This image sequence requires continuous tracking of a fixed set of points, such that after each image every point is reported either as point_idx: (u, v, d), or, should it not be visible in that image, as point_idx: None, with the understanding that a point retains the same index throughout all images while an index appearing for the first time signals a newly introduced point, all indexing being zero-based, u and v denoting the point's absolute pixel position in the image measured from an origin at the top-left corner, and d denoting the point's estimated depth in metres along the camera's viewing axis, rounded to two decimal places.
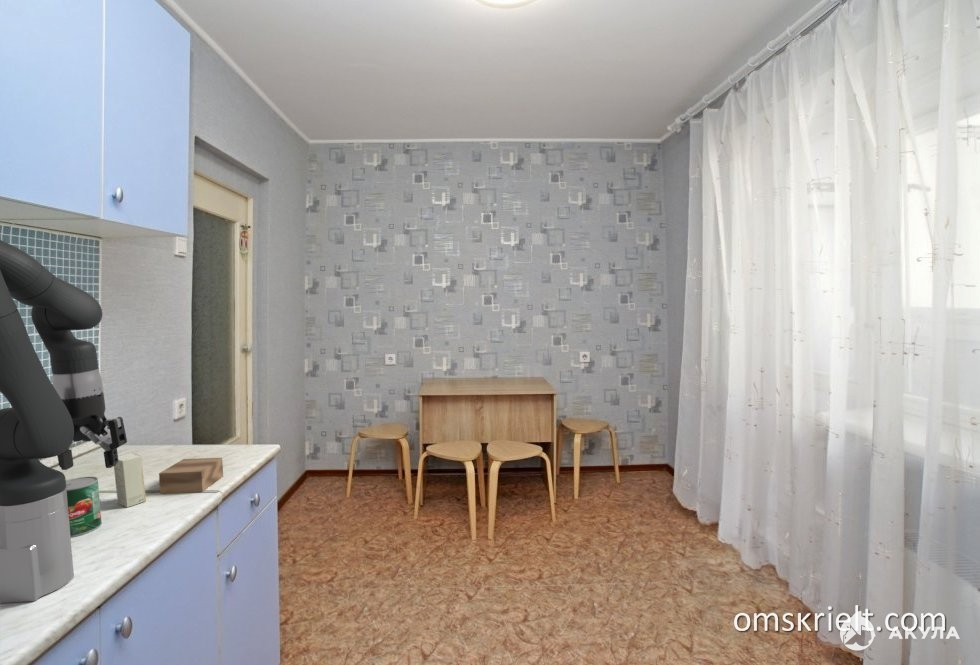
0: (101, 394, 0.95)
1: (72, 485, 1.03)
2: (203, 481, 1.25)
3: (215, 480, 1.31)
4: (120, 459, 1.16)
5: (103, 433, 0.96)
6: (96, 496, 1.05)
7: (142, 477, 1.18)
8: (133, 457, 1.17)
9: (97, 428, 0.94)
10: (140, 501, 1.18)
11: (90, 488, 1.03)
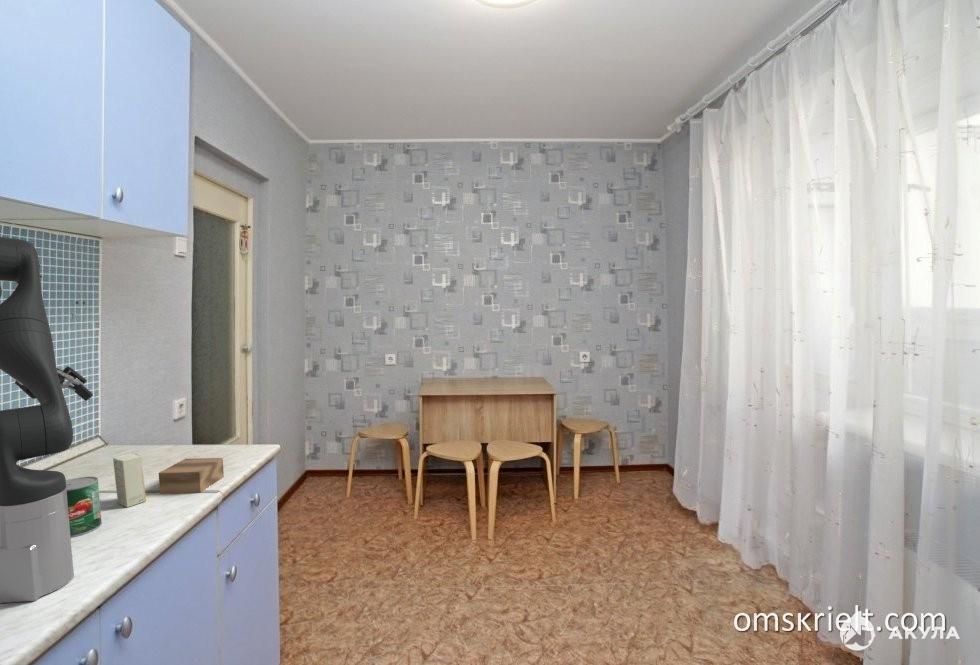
0: None
1: (72, 485, 1.03)
2: (201, 481, 1.25)
3: (215, 480, 1.31)
4: (120, 459, 1.16)
5: (60, 384, 1.18)
6: (96, 496, 1.05)
7: (142, 477, 1.18)
8: (133, 457, 1.17)
9: (62, 373, 1.18)
10: (140, 501, 1.18)
11: (90, 488, 1.03)
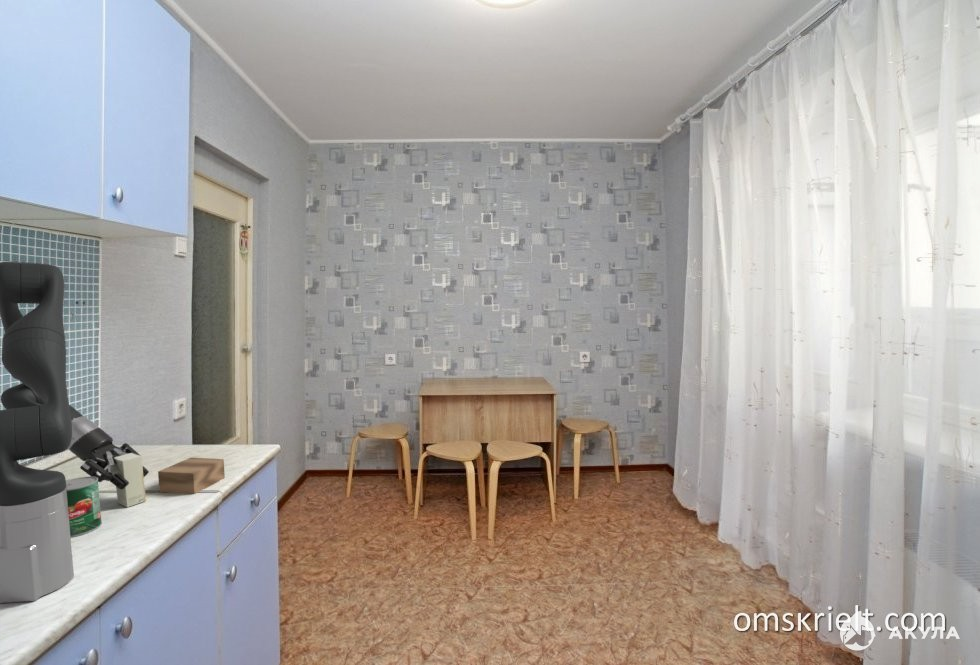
0: None
1: (72, 485, 1.03)
2: (196, 483, 1.24)
3: (213, 482, 1.30)
4: (120, 459, 1.16)
5: None
6: (96, 496, 1.05)
7: (142, 477, 1.18)
8: (133, 457, 1.17)
9: (119, 450, 1.21)
10: (140, 501, 1.18)
11: (90, 488, 1.03)
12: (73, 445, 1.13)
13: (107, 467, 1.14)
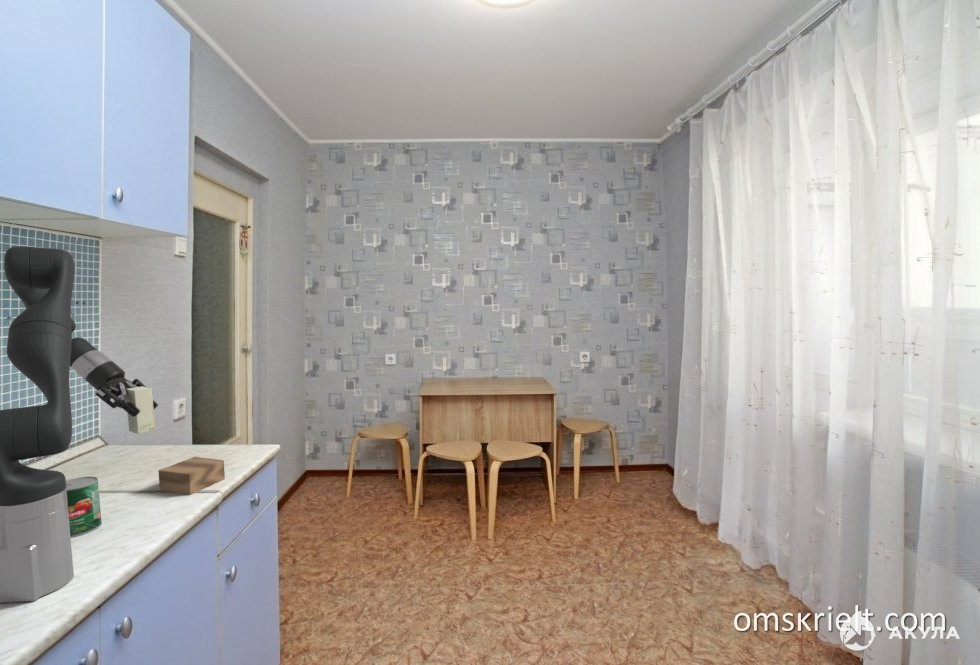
0: None
1: (72, 485, 1.03)
2: (192, 484, 1.23)
3: (211, 483, 1.29)
4: (132, 389, 1.24)
5: None
6: (96, 496, 1.05)
7: (152, 407, 1.26)
8: (144, 388, 1.26)
9: None
10: (150, 430, 1.26)
11: (90, 488, 1.03)
12: (89, 374, 1.21)
13: (120, 396, 1.22)
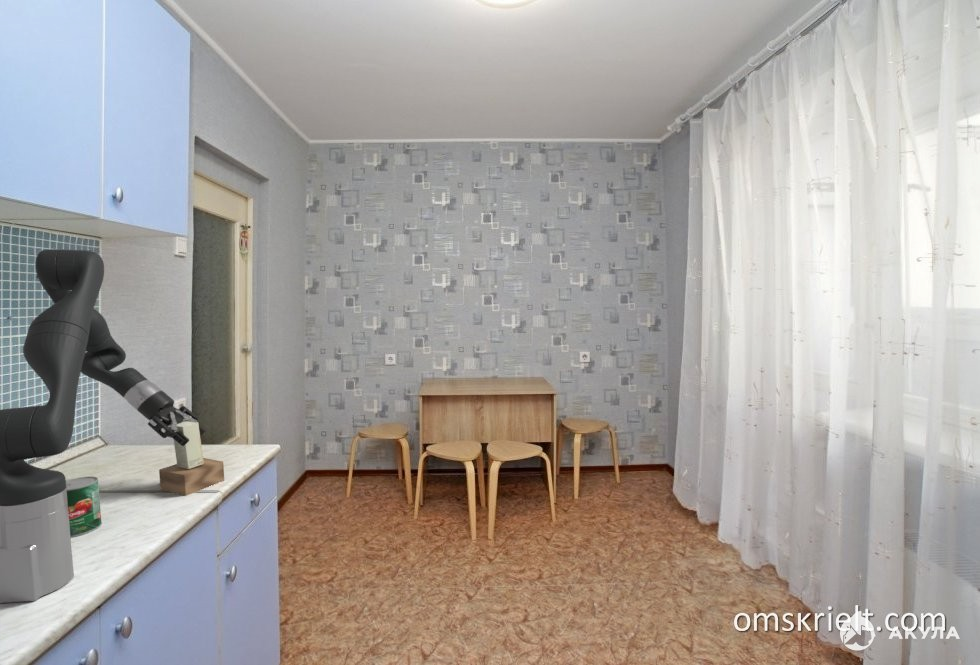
0: None
1: (72, 485, 1.03)
2: (188, 485, 1.23)
3: (209, 484, 1.28)
4: (179, 425, 1.26)
5: None
6: (96, 496, 1.05)
7: (200, 442, 1.28)
8: (191, 423, 1.27)
9: None
10: (199, 464, 1.28)
11: (90, 488, 1.03)
12: (141, 405, 1.23)
13: (170, 425, 1.24)
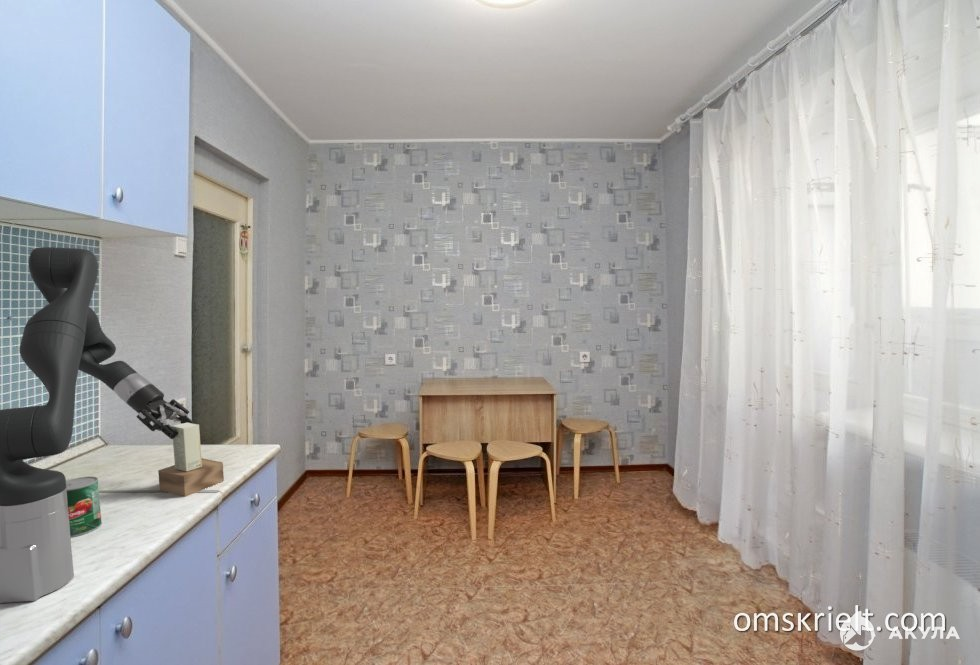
0: None
1: (72, 485, 1.03)
2: (187, 486, 1.22)
3: (209, 485, 1.27)
4: (180, 427, 1.24)
5: None
6: (96, 496, 1.05)
7: (199, 444, 1.27)
8: (191, 425, 1.26)
9: None
10: (197, 466, 1.26)
11: (90, 488, 1.03)
12: (130, 398, 1.23)
13: (159, 418, 1.24)
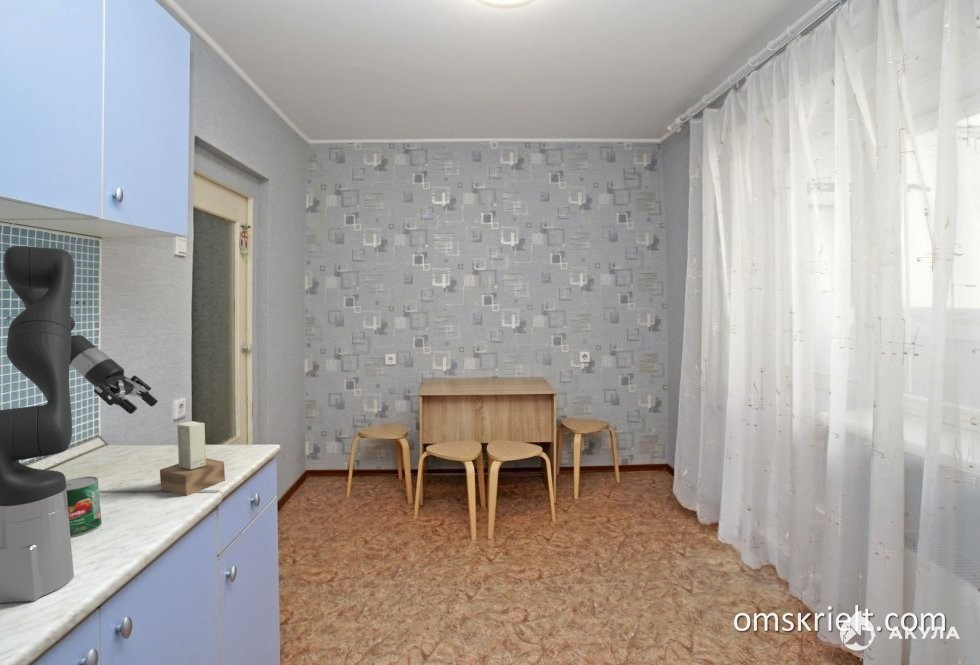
0: None
1: (72, 485, 1.03)
2: (188, 485, 1.22)
3: (210, 484, 1.28)
4: (185, 425, 1.26)
5: None
6: (96, 496, 1.05)
7: (204, 443, 1.28)
8: (197, 424, 1.27)
9: None
10: (201, 465, 1.27)
11: (90, 488, 1.03)
12: (88, 372, 1.21)
13: (118, 393, 1.22)
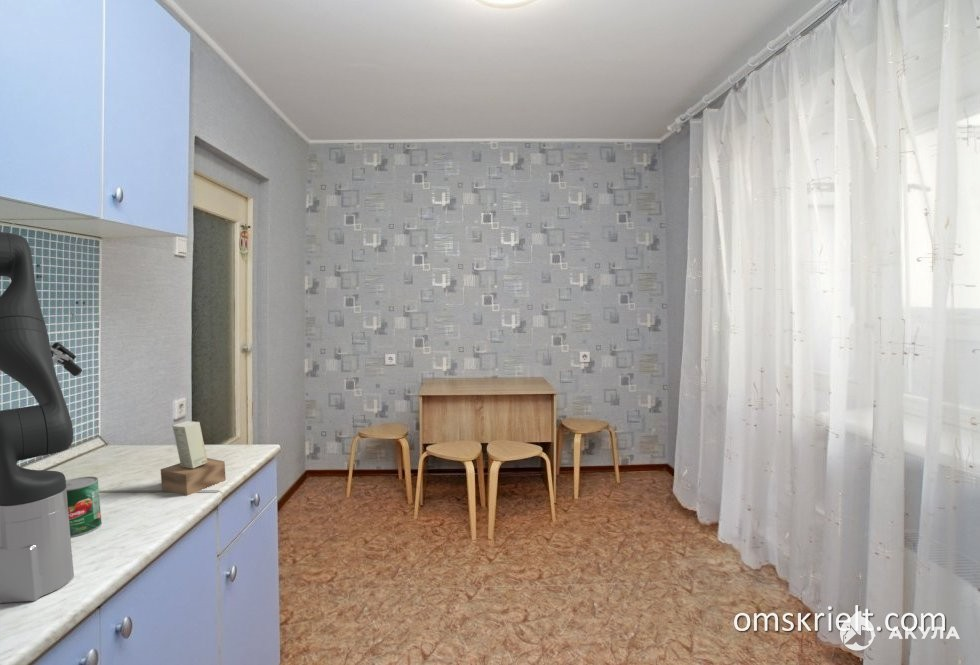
0: None
1: (72, 485, 1.03)
2: (189, 484, 1.23)
3: (211, 484, 1.28)
4: (181, 426, 1.25)
5: None
6: (96, 496, 1.05)
7: (202, 441, 1.28)
8: (192, 423, 1.27)
9: (50, 347, 1.17)
10: (203, 463, 1.28)
11: (90, 488, 1.03)
12: None
13: None
